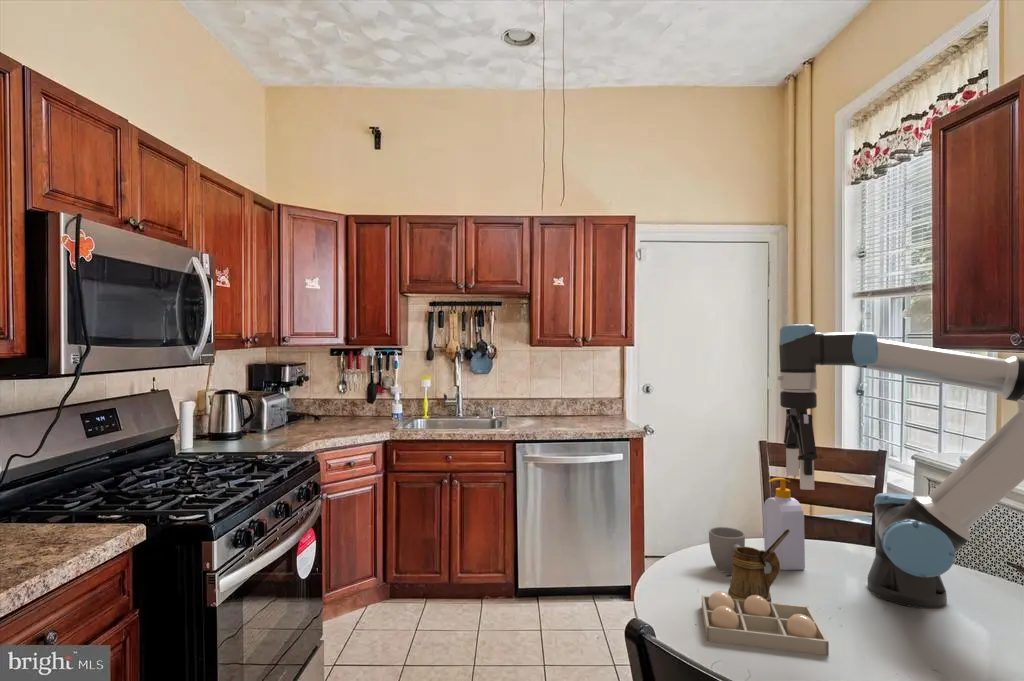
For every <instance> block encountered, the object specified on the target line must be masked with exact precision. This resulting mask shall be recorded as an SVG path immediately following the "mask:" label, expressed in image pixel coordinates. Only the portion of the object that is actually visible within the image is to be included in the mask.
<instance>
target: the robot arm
mask: <svg viewBox="0 0 1024 681" xmlns="http://www.w3.org/2000/svg"><path fill="white" fill-rule="evenodd" d="M778 344H779V345H778V347H779V349H778V350H779V351H778V352H779V369H780V370H779V376H777V380H778V381H780V382H779V383H780V387H779V388H780V389H782V390H781V391H780V393H779V394H780V396H779V398H780V399H779V400H780V402H779V403H780V406H781V407H782V408H785V409H786V410H785V412H786V414H785V416H786V417H785V424H784V425H785V427H784V435H783V443H784V444H785V445H784V446H785V448H786V449H785V455H786V457H785V458H786V461H785V463H786V464H785V465H786V467H785V468H786V476H789V477H790V476H791V477H799V489H800V490H807V491H809V490H810V491H811V490H812V491H815V460H817V459H818V455H817V449H816V447H817V446H816V441H815V434H814V432H815V431H814V427H813V415H812V414H808V409H809V410H812V409H815V408H817V406H818V405H817V404H818V403H817V402H818V401H817V400H818V399H817V394H818V393H817V392H815V390H817V389H818V388H817V385H818V384H817V380H818V379H817V366H847V367H848V366H850V367H855V368H856V367H858V368H862V369H869V370H873V371H879V372H885V373H889V374H896V375H901V376H906V377H911V378H916V379H919V380H920V379H921V380H927V381H932V382H935V383H936V382H937V383H943V384H946V385H947V384H948V385H953V386H958V387H963V388H968V389H974V390H979V391H984V392H989V393H994V394H997V395H998V396H999V397H1000V398H1001V399H1002V400H1007V401H1011V402H1015V403H1016V402H1017V407H1018V411H1017V413H1015V415H1013V416H1012V417H1011V418H1010V419H1009V420H1008V421H1007V422H1005V423H1004V425H1002V427H1001V428H999V429H998V430H996V431H997V432H995V433H993V435H992V436H991V437H989V438H988V439H987V440H986V441H985V442H984V443H983V444H982V445H980V447H979V448H978V449H977V450H975V451H974V453H972V454H971V455H970V456H969V457H968V458H967V459H966V460H965V461H964V462H963V463H961V464H960V465H959V466H958V467H957V468H956V469H954V471H952V473H950V474H949V476H947V477H946V478H945V479H944V480H943V481H941V483H940V484H939V485H937V487H935V488H934V489H933V490H932V491H931V492H930V493H929V494H927V495H912V494H906V493H905V494H903V493H893V492H890V493H888V492H883V493H882V492H881V493H877V494H876V495H875V497H874V503H873V507H874V520H875V521H874V524H875V525H874V531H875V533H874V534H875V535H874V537H875V544H874V545H875V556H874V559H873V562H872V564H871V567H870V568H869V569H870V570H869V571H868V575H867V588H868V590H869V591H870V592H871V593H872V594H874V595H875V596H878V597H879V598H881V599H884V600H886V601H889V602H892V603H894V604H898V605H902V606H907V607H912V608H913V607H914V608H918V609H919V608H920V609H936V608H941V607H944V606H946V605H947V602H948V596H947V595H948V594H947V590H946V588H945V585H944V582H943V580H942V577H941V575H943V574H945V573H947V572H948V571H949V570H950V569H951V568H952V567H953V564H954V562H955V559H956V553H957V551H959V550H960V549H961V548H962V547H963V546H964V545H965V544H967V543H968V542H969V541H970V540H971V535H970V528H971V527H972V526H973V525H974V524H975V523H976V522H978V521H979V520H980V519H981V518H982V517H984V515H986V514H987V513H988V512H989V511H990V510H991V509H993V507H994V506H996V505H997V504H998V503H999V502H1000V501H1001V500H1003V499H1004V498H1005V497H1006V496H1008V495H1009V493H1010V492H1012V491H1013V490H1014V489H1016V487H1018V486H1019V485H1020V483H1022V482H1023V481H1024V357H1022V356H1021V357H1020V356H1015V355H1014V356H1013V355H1012V356H1010V357H1008V358H1005V359H1004V358H999V357H993V356H992V357H991V356H986V355H979V354H973V353H967V352H962V351H954V350H951V349H950V350H949V349H943V348H938V347H937V348H936V347H929V346H925V345H919V344H911V343H906V342H900V341H896V340H895V341H893V340H888V339H883V338H878V335H877V334H876V333H875V332H873V331H843V332H817V330H816V326H815V325H814V324H811V323H810V324H809V323H808V324H787V325H783V326H782V327H781V328H780V329H779V343H778Z"/></svg>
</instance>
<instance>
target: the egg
mask: <svg viewBox="0 0 1024 681" xmlns="http://www.w3.org/2000/svg"><path fill="white" fill-rule="evenodd" d="M744 611H745V613H746V615H755V616H764V617H769V616H770V613H771V609H770V605H769V603H768V602H767V601H766V599H764V598H763V597H761V596H759V595H751V596H749V597H747V598H746V600H745V602H744Z"/></svg>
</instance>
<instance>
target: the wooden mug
mask: <svg viewBox="0 0 1024 681" xmlns="http://www.w3.org/2000/svg"><path fill="white" fill-rule="evenodd" d="M789 532H790V531H789V529H788V530H785V531H784V532H783V534H782V535H781V536H780V537H779V538H778V539H777V540H776V542H775V543H774V544H773V545H772V546H771V547H769V548H768V549H767V550H765V549H761V550H760V549H757V548H755V547H750V546H745V547H736V548H735V549H734V554H733V556H732V562H733V567H732V573H731V575H730V576H731V577H730V585H729V587H728V592H727V594H728V595H729V596H730V597H731V598H732V599H741V600H746V598H747V597H749V596H751V595H759V596H761V597H763V598H764V599H766V601H767V602H770V603H772V598H771V592H770V590H771V586H772V584H773V583H774V582H775V581H776V579H777V577H778V576H779V574H780V571H781V569H780V563H779V560H778V557H777V555H776V554H775V552H774V550H775V549H776V548H777V546H778V545H779V544H780V543H781V542H782V541H783V539H784V538H785V537H786V536H787V535H788V534H789ZM767 563H768V564H769V566H770V568H771V570H770V572H769V573H766V572H765V568H766V567H767Z"/></svg>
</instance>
